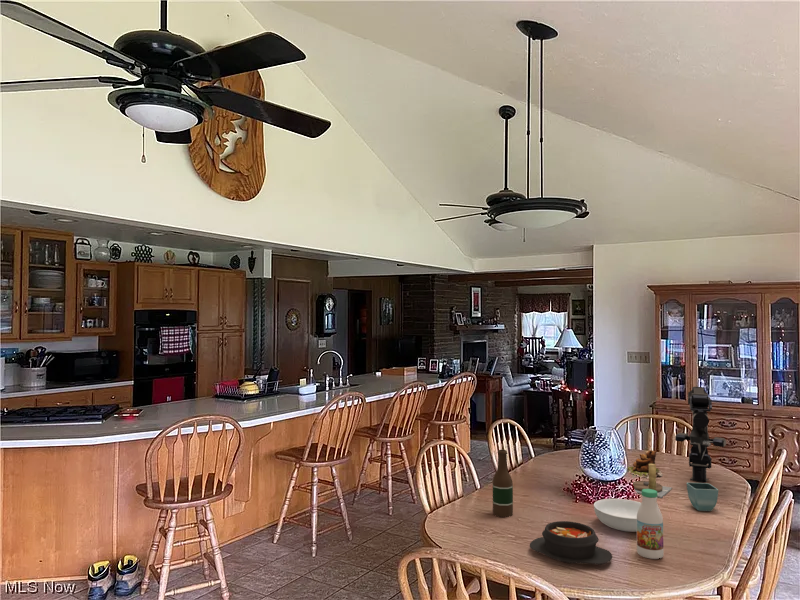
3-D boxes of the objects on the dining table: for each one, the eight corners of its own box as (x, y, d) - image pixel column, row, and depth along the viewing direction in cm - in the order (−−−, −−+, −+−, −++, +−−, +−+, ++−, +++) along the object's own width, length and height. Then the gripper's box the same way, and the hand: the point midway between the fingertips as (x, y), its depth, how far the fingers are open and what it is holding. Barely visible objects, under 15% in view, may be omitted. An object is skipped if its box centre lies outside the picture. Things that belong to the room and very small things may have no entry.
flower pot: (709, 505, 228) (709, 482, 228) (719, 513, 219) (719, 489, 219) (686, 505, 229) (685, 482, 229) (695, 512, 220) (694, 489, 220)
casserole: (618, 554, 182) (617, 527, 182) (605, 577, 166) (604, 547, 166) (540, 538, 195) (540, 513, 195) (521, 558, 179) (521, 530, 179)
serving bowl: (628, 542, 191) (627, 521, 191) (581, 522, 210) (581, 503, 210) (670, 531, 201) (670, 511, 201) (622, 513, 219) (621, 495, 219)
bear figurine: (644, 468, 283) (644, 443, 283) (668, 477, 269) (667, 450, 269) (621, 471, 278) (621, 445, 279) (644, 479, 264) (644, 453, 265)
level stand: (634, 482, 260) (634, 480, 260) (672, 489, 249) (672, 487, 249) (621, 490, 247) (621, 488, 247) (661, 498, 237) (661, 496, 237)
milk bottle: (632, 549, 185) (631, 487, 186) (655, 549, 186) (654, 486, 186) (644, 560, 178) (643, 494, 178) (668, 559, 178) (667, 493, 179)
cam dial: (627, 483, 254) (627, 458, 254) (654, 483, 254) (654, 457, 255) (639, 492, 242) (639, 465, 242) (668, 492, 242) (667, 465, 242)
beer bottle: (515, 512, 220) (515, 449, 221) (510, 519, 213) (510, 453, 214) (495, 509, 223) (495, 447, 224) (489, 515, 216) (489, 451, 217)
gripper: (671, 423, 248) (672, 459, 248) (720, 428, 236) (721, 467, 236) (678, 419, 257) (678, 455, 256) (726, 424, 245) (726, 461, 244)
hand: (700, 459), depth 248 cm, fingers closed
